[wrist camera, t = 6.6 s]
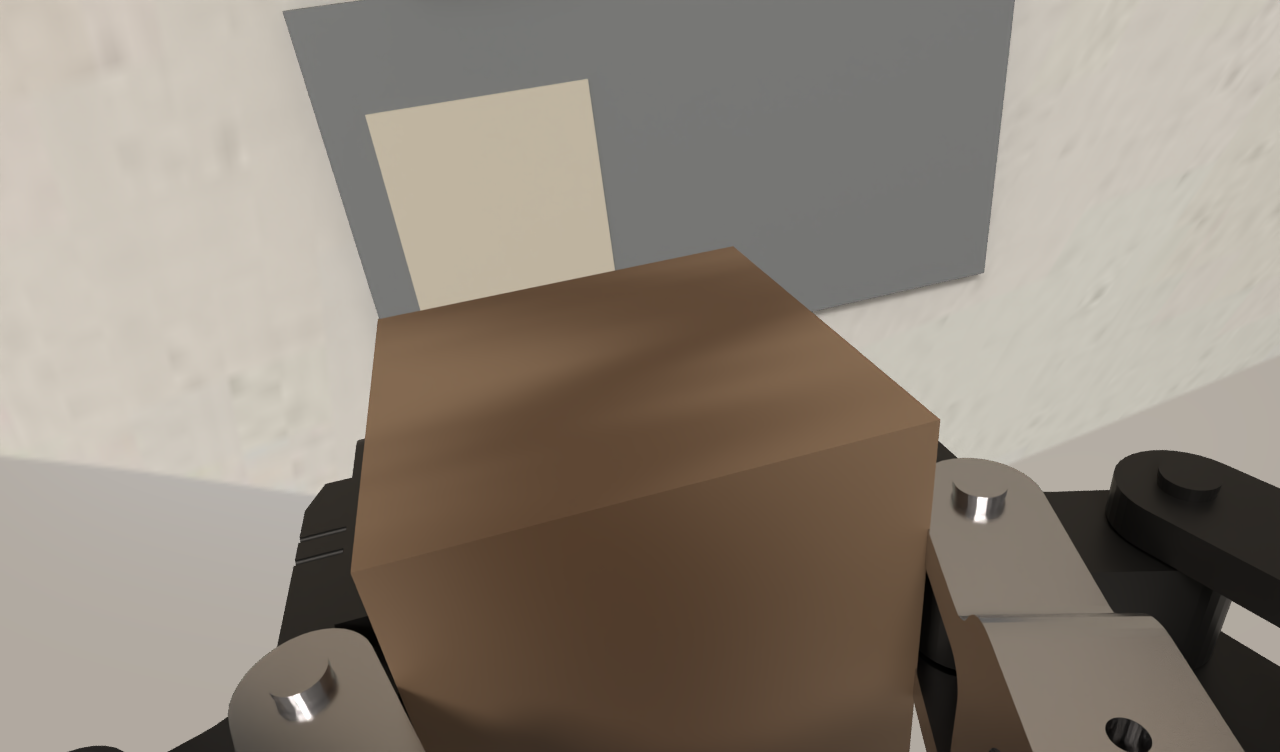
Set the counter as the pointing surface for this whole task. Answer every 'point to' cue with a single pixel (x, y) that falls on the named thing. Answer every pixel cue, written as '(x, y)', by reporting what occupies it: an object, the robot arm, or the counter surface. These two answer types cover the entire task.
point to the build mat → (658, 139)
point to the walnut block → (644, 519)
